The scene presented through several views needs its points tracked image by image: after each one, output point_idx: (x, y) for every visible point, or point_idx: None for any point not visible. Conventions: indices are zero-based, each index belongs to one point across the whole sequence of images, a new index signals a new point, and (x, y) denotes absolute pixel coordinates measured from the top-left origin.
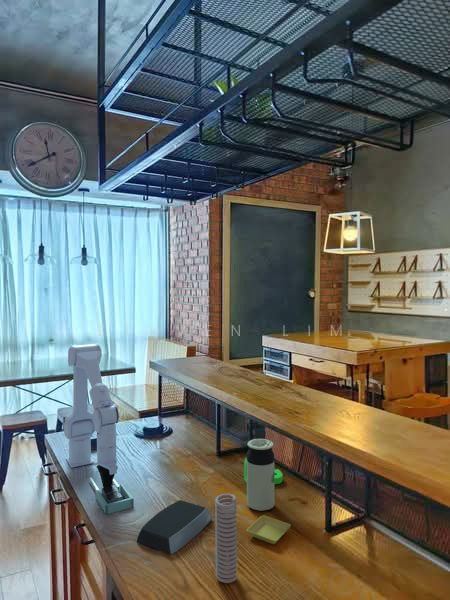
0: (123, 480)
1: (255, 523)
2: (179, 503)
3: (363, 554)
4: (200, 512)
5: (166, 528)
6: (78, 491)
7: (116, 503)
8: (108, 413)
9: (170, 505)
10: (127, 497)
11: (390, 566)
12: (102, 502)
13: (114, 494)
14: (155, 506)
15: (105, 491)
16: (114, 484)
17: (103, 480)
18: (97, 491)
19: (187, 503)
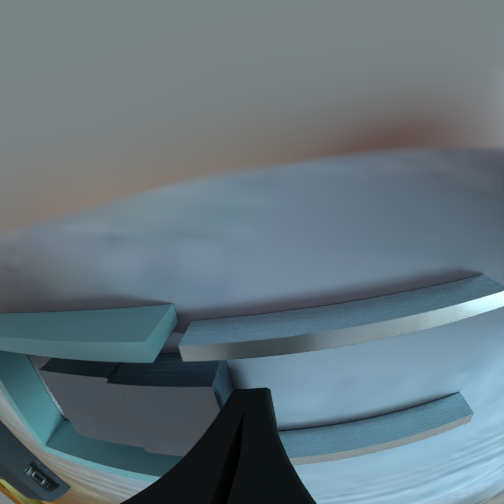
0: (371, 460)
1: (25, 497)
2: (28, 489)
3: (14, 497)
4: (6, 481)
5: None
6: (378, 161)
7: (1, 384)
8: None
9: (13, 474)
10: (84, 444)
11: (6, 492)
12: (10, 330)
13: (101, 419)
14: (72, 465)
15: (139, 395)
16: (307, 444)
17: (184, 456)
18: (113, 346)
19: (33, 495)
